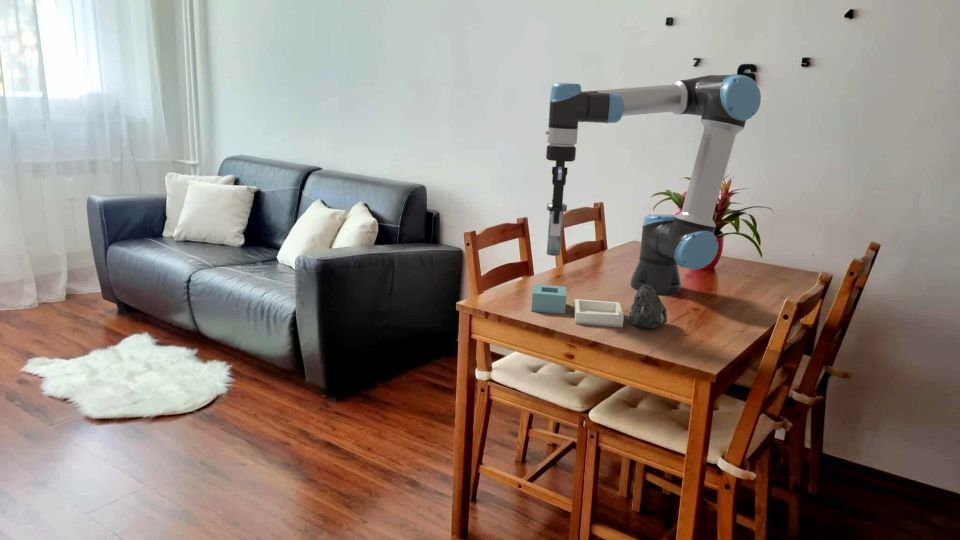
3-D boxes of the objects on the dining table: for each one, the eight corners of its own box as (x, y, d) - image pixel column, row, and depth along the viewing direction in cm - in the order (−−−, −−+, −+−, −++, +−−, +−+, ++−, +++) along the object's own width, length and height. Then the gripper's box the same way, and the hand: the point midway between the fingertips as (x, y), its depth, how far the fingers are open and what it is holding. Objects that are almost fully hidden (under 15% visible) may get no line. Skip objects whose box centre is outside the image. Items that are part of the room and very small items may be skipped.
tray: (618, 313, 184) (619, 302, 183) (622, 327, 172) (623, 316, 171) (573, 309, 185) (574, 298, 184) (575, 323, 173) (576, 312, 172)
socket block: (564, 303, 189) (566, 286, 188) (565, 313, 180) (566, 295, 179) (532, 301, 190) (533, 284, 189) (531, 311, 181) (532, 293, 180)
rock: (622, 305, 181) (639, 277, 176) (654, 316, 183) (672, 288, 177) (628, 335, 171) (647, 307, 166) (662, 346, 173) (681, 318, 167)
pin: (562, 252, 184) (566, 203, 180) (563, 257, 179) (567, 207, 175) (543, 251, 184) (547, 202, 181) (543, 255, 179) (547, 205, 176)
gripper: (547, 141, 183) (541, 225, 189) (546, 146, 165) (540, 239, 172) (575, 143, 182) (568, 227, 188) (577, 148, 165) (569, 241, 171)
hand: (555, 233), depth 180 cm, fingers closed on pin, 5 cm apart
